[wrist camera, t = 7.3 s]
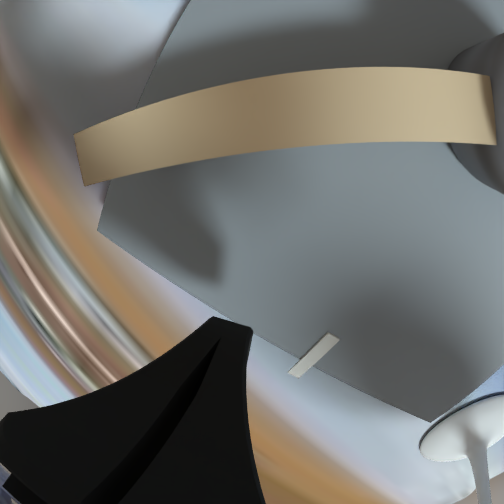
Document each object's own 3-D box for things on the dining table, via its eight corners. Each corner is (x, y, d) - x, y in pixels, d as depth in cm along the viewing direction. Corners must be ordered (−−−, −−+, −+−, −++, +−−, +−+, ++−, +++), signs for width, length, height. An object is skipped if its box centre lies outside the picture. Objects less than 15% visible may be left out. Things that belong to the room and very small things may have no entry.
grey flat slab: (622, 129, 4) (638, 133, 3) (415, 411, 14) (417, 432, 13) (322, -126, 4) (319, -144, 2) (111, 235, 14) (91, 248, 13)
